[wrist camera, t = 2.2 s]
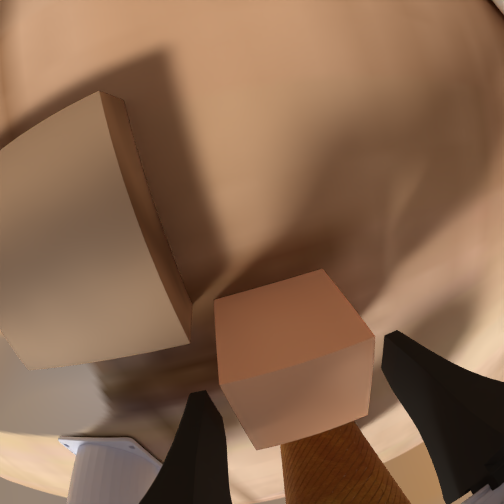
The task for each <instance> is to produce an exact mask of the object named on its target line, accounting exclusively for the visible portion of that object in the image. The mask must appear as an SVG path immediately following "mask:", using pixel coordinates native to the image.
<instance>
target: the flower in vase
mask: <svg viewBox="0 0 504 504" xmlns="http://www.w3.org/2000/svg"><path fill="white" fill-rule="evenodd" d="M492 1H493V2H494V3H495V5H496V6H497V7H498V8H499V10H500V11H501V12H502V13H503V14H504V0H492Z"/></svg>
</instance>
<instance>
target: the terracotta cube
mask: <svg viewBox="0 0 504 504" xmlns="http://www.w3.org/2000/svg"><path fill="white" fill-rule="evenodd" d="M214 315H215V332H216V348H217V362H218V375H219V385H220V387H221V389H222V391H223V393H224V395H225V397H226V398H227V400H228V402H229V404H230V406H231V408H232V409H233V411H234V413H235V415H236V417H237V418H238V420H239V422H240V424H241V425H242V427H243V429H244V430H245V432H246V434H247V436H248V437H249V439H250V441H251V442H252V444H253V446H254V447H255V449H256V450H260V449H264V448H269V447H273V446H277V445H281V444H284V443H288V442H292V441H295V440H299V439H302V438H306V437H309V436H312V435H315V434H318V433H321V432H324V431H327V430H330V429H333V428H336V427H338V426H341V425H344V424H346V423H349V422H352V421H354V420H357V419H359V418H361V417H364V416H366V415H368V409H369V401H370V393H371V384H372V374H373V363H374V349H375V335H374V334H373V333H372V331H371V330H370V329H369V327H368V326H367V325H366V323H365V322H364V321H363V319H362V318H361V317H360V316H359V314H358V313H357V312H356V310H355V309H354V308H353V306H352V305H351V304H350V303H349V301H348V300H347V299H346V297H345V296H344V295H343V294H342V292H341V291H340V290H339V289H338V287H337V286H336V285H335V283H334V282H333V281H332V280H331V278H330V277H329V276H328V275H327V273H326V272H325V271H324V270H323V268H322V269H319V270H316V271H313V272H309V273H306V274H303V275H299V276H296V277H293V278H289V279H286V280H283V281H279V282H276V283H272V284H269V285H265V286H262V287H258V288H255V289H251V290H248V291H244V292H240V293H237V294H233V295H230V296H226V297H222V298H219V299H215V300H214Z"/></svg>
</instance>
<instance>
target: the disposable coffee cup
mask: <svg viewBox="0 0 504 504" xmlns="http://www.w3.org/2000/svg"><path fill="white" fill-rule="evenodd" d="M280 448H281V457H282V467H283V477H284V489H285V496H286V504H411V503H410V501H409V500H408V499H407V498H406V496H405V495H404V493H403V492H402V490H401V489H400V487H399V486H398V484H397V483H396V482H395V480H394V478H392V476H391V475H390V473H389V471H388V470H387V469H386V467H385V466H384V464H383V463H382V461H381V460H380V459H379V457H378V455H377V454H376V453H375V451H374V450H373V448H372V447H371V446H370V444H369V442H368V441H367V440H366V438H365V437H364V435H363V434H362V432H361V431H360V429H359V428H358V426H357V425H356V424H355V422H354V421H352V422H349V423H346V424H344V425H341V426H338V427H336V428H333V429H330V430H327V431H324V432H321V433H318V434H315V435H312V436H309V437H306V438H302V439H299V440H295V441H292V442H288V443H284V444H281V447H280Z"/></svg>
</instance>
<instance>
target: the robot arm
mask: <svg viewBox="0 0 504 504" xmlns="http://www.w3.org/2000/svg"><path fill="white" fill-rule="evenodd" d="M381 368H382V371H383V373H384V375H385V377H386V379H387V381H388V383H389V385H390V387H391V389H392V390H393V392H394V393H395V395H396V396H397V398H398V399H399V401H400V402H401V404H402V405H403V407H404V408H405V410H406V411H407V413H408V414H409V416H410V417H411V419H412V420H413V422H414V423H415V425H416V427H417V429H418V430H419V432H420V434H421V436H422V439H423V441H424V443H425V445H426V447H427V450H428V452H429V455H430V457H431V459H432V462H433V464H434V467H435V470H436V473H437V476H438V479H439V483H440V486H441V489H442V494H443V498H444V501H445V503H446V504H451V503H452V502H454V501H456V500H457V499H458V498H460V497H462V496H463V495H465V494H466V493H468V492H469V491H470V490H471V492H472V494H473V495H472V496H471V497H469V498H468V499H467V500H465V501H464V502H462V503H461V504H504V382H501V381H497V380H494V379H490V378H487V377H484V376H481V375H479V374H476V373H474V372H471V371H469V370H466V369H464V368H462V367H460V366H458V365H456V364H454V363H452V362H450V361H448V360H446V359H444V358H442V357H441V356H439V355H437V354H435V353H434V352H432V351H430V350H429V349H427V348H425V347H424V346H422V345H420V344H419V343H417V342H416V341H414V340H412V339H411V338H409V337H408V336H406V335H404V334H403V333H401V332H400V331H398V330H396V331H394V332H392V333H389V334H387V335H385V336H384V347H383V357H382V366H381ZM58 441H59V442H60V443H61V444H63V445H64V446H65V447H66V448H67V449H69V450H70V451H71V452H72V453H74V454H75V455H76V458H75V462H74V467H73V472H72V477H71V482H70V487H69V493H68V500H67V504H232V501H231V496H230V489H229V478H228V462H227V445H226V436H225V430H224V424H223V419H222V416H221V415H220V413H219V411H218V410H217V408H216V407H215V405H214V403H213V402H212V400H211V398H210V397H209V395H208V393H207V392H206V390H205V391H199V392H194V393H191V394H190V395H189V398H188V401H187V404H186V407H185V411H184V414H183V417H182V419H181V422H180V425H179V428H178V430H177V433H176V436H175V438H174V441H173V443H172V446H171V448H170V450H169V452H168V454H167V457H166V459H165V461H164V463H163V464H161V463H160V462H159V461H158V460H157V459H155V458H154V457H153V456H152V455H151V454H149V453H148V452H147V451H146V450H145V449H144V448H143V447H142V446H140V445H139V444H138V443H137V442H136V441H135V440H134V439H132V438H129V437H117V438H90V437H67V436H59V438H58Z"/></svg>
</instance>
